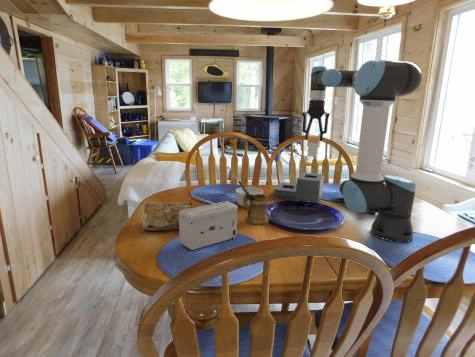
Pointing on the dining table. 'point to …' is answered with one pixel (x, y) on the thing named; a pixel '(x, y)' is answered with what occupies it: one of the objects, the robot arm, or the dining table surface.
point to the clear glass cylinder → (313, 146)
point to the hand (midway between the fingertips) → (313, 146)
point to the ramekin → (241, 193)
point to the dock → (301, 188)
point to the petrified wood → (163, 215)
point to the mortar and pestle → (255, 207)
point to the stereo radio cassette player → (207, 224)
